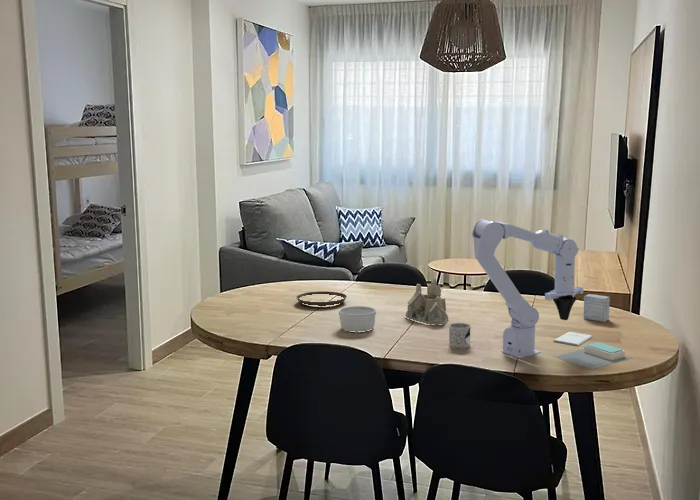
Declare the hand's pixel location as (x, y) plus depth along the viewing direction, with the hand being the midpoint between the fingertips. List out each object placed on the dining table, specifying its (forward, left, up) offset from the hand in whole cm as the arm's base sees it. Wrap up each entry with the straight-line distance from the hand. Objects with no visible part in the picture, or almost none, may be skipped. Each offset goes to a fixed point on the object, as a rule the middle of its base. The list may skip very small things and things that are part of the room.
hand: (564, 319), depth 213 cm
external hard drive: (+10, +5, -11) cm, 16 cm away
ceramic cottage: (-13, +53, -10) cm, 56 cm away
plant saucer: (-32, +98, -10) cm, 104 cm away
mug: (-22, +23, -10) cm, 34 cm away
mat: (+1, -11, -10) cm, 15 cm away
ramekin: (-40, +57, -10) cm, 71 cm away
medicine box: (+38, +18, -10) cm, 43 cm away
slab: (+3, -11, -9) cm, 14 cm away
